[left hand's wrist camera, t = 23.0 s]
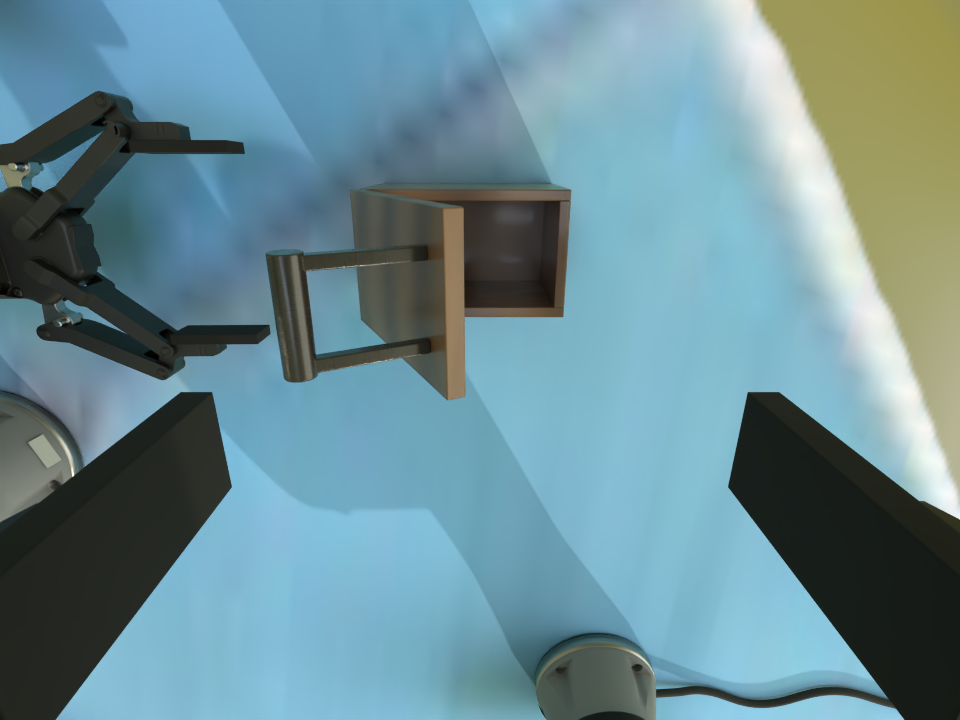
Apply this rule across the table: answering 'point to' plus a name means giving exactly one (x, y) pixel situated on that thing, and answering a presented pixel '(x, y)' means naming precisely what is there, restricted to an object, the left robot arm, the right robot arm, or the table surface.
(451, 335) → the lid
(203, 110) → the table surface
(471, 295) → the chest
